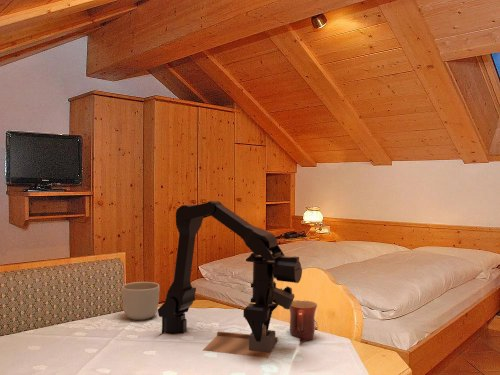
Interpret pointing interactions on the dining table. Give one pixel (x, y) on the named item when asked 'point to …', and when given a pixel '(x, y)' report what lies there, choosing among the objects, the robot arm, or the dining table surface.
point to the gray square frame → (262, 342)
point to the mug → (302, 319)
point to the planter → (140, 300)
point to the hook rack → (235, 344)
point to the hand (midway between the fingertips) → (262, 335)
